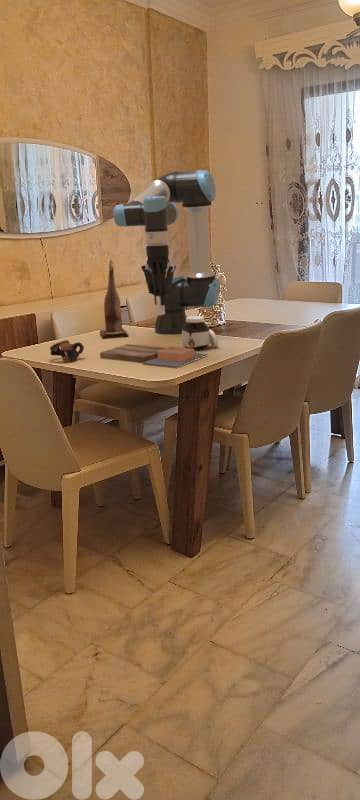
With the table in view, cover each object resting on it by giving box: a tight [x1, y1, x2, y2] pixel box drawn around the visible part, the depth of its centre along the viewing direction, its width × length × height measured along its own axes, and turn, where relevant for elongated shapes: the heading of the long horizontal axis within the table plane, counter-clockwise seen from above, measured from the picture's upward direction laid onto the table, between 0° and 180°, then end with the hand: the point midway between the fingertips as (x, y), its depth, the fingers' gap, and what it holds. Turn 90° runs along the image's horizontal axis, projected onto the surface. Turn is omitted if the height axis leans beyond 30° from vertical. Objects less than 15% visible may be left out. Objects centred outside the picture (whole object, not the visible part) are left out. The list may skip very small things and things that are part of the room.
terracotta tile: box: [157, 346, 195, 362], centre depth 220 cm, size 8×10×3 cm
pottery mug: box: [49, 339, 85, 364], centre depth 228 cm, size 12×10×8 cm
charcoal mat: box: [142, 352, 209, 368], centre depth 221 cm, size 20×14×1 cm
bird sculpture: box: [99, 259, 129, 339], centre depth 266 cm, size 11×12×32 cm
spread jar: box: [181, 315, 219, 351], centre depth 238 cm, size 12×11×12 cm
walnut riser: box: [99, 343, 166, 364], centre depth 230 cm, size 16×20×2 cm
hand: (161, 314), depth 220 cm, fingers closed
